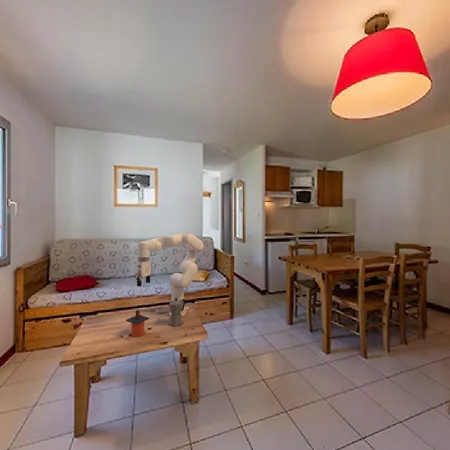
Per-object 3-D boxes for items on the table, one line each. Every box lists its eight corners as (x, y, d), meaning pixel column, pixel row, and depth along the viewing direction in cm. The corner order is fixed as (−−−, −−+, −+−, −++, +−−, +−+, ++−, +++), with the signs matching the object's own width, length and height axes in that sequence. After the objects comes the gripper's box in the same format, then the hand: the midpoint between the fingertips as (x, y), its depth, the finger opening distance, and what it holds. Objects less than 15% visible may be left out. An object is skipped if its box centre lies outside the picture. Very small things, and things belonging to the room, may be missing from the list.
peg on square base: (139, 315, 161) (139, 306, 161) (149, 318, 156) (149, 309, 156) (125, 320, 153) (125, 311, 153) (136, 324, 147) (136, 314, 147)
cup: (141, 329, 160) (141, 316, 160) (146, 334, 154) (146, 319, 154) (129, 333, 155) (129, 319, 155) (134, 338, 149) (134, 323, 149)
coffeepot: (173, 329, 162) (173, 302, 161) (164, 325, 167) (164, 299, 167) (189, 321, 174) (189, 296, 174) (180, 318, 180) (180, 293, 179)
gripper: (140, 261, 156) (140, 288, 157) (155, 257, 173) (155, 281, 173) (130, 261, 158) (130, 287, 159) (146, 257, 175) (146, 281, 175)
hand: (143, 284), depth 166 cm, fingers open, 9 cm apart
